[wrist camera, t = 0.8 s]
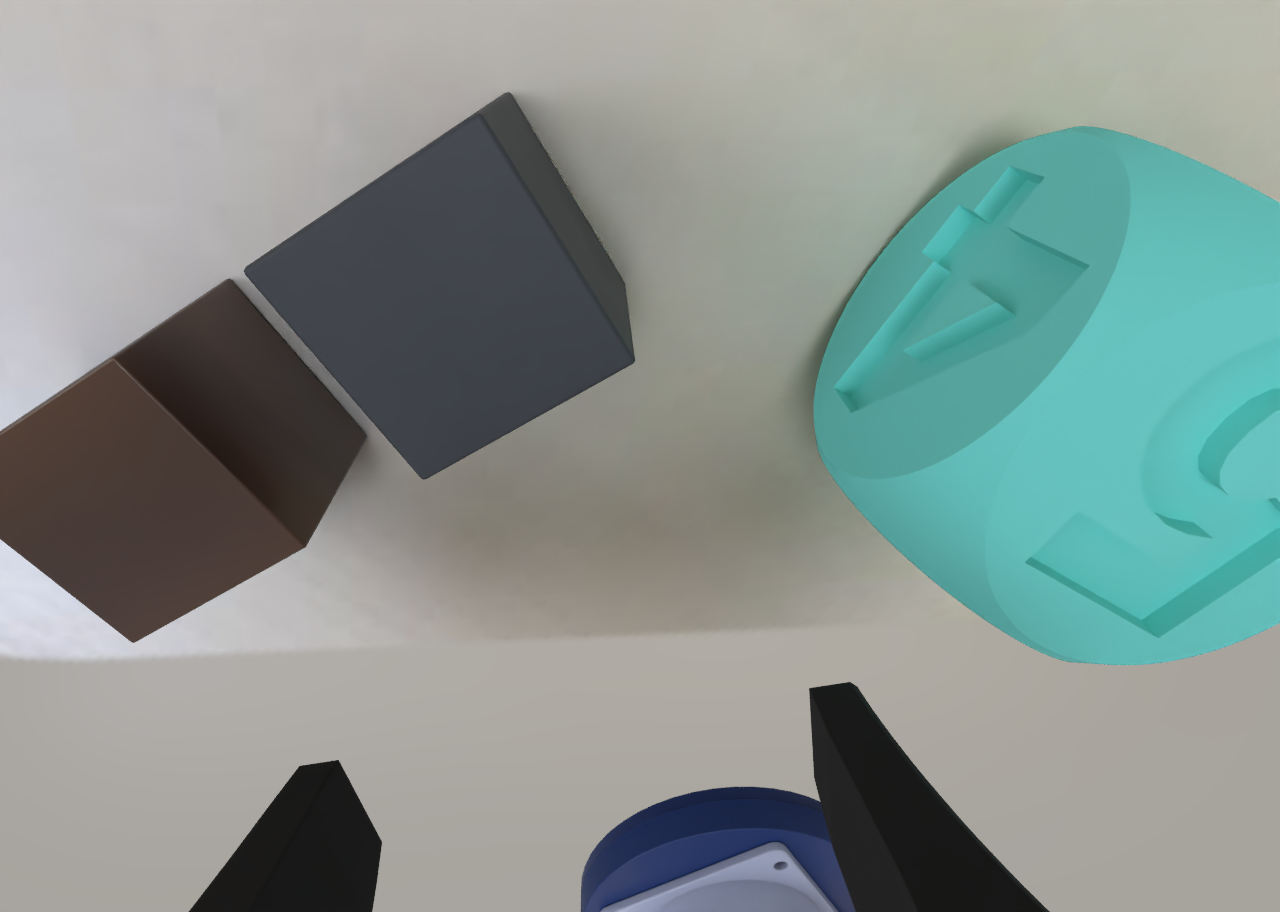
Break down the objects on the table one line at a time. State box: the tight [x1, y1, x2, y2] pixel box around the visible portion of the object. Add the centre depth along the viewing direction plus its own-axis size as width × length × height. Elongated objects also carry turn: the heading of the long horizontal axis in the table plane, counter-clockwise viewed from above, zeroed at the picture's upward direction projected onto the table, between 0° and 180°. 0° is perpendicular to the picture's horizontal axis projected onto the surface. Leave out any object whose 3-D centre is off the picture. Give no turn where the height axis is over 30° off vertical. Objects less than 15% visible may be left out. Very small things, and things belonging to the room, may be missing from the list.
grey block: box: [244, 92, 635, 480], centre depth 16 cm, size 5×5×5 cm
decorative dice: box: [814, 126, 1280, 665], centre depth 16 cm, size 8×8×8 cm
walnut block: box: [0, 279, 367, 643], centre depth 17 cm, size 5×5×5 cm
